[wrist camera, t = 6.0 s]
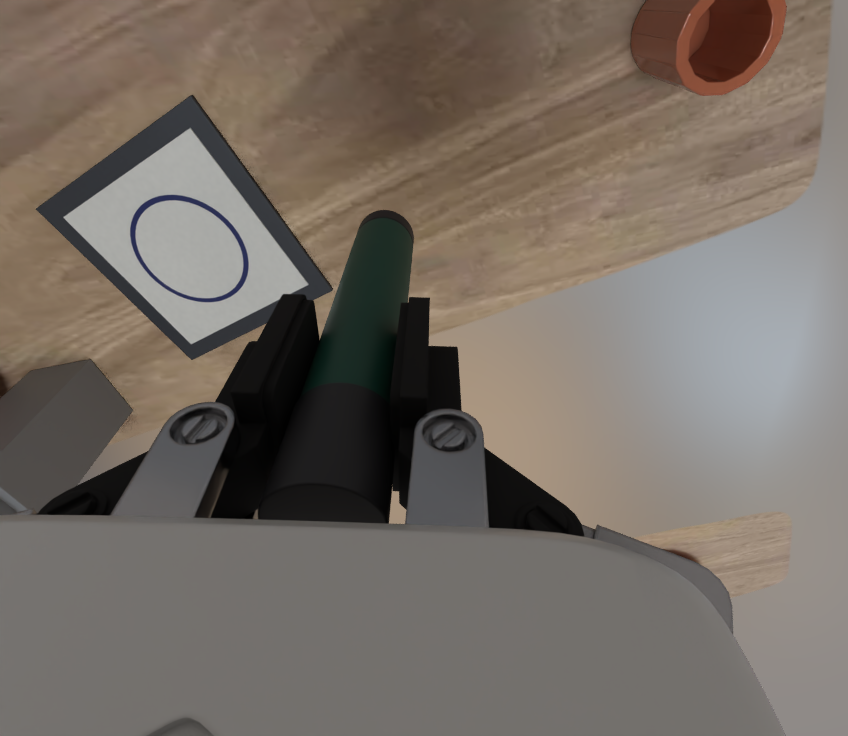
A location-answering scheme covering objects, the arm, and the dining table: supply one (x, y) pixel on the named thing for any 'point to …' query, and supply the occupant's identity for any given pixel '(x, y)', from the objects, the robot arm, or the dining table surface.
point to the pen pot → (706, 41)
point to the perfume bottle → (54, 432)
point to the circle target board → (185, 233)
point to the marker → (348, 392)
